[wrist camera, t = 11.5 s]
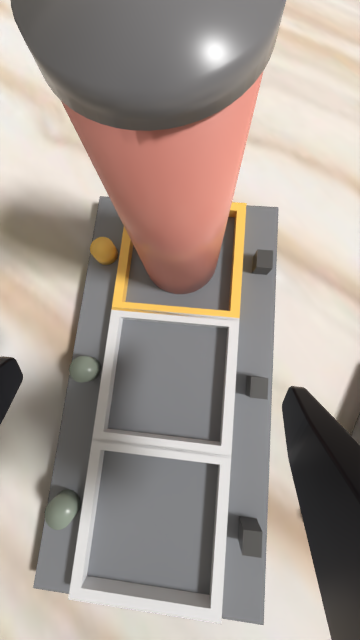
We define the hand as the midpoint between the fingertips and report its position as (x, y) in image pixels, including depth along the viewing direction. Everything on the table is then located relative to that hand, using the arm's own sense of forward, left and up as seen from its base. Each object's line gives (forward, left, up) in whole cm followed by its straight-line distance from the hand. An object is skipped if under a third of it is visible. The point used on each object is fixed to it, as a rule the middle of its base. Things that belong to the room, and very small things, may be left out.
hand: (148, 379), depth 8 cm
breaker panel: (0, 0, -9) cm, 9 cm away
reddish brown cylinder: (+5, +5, -8) cm, 11 cm away
